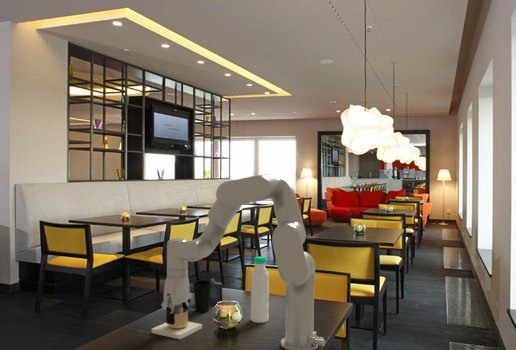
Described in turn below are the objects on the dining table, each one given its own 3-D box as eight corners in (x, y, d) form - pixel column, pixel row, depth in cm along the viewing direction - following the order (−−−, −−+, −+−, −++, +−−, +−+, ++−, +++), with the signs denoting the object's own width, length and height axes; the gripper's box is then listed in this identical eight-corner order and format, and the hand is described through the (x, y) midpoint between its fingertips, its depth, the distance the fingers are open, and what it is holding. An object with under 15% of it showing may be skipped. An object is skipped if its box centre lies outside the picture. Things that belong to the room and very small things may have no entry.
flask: (201, 302, 204) (201, 278, 204) (203, 301, 207) (204, 277, 207) (221, 304, 202) (221, 280, 202) (223, 302, 205) (223, 278, 205)
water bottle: (266, 324, 176) (267, 259, 176) (249, 322, 178) (249, 258, 178) (270, 318, 183) (270, 255, 183) (252, 317, 185) (253, 255, 184)
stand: (202, 328, 171) (202, 305, 171) (180, 339, 160) (180, 315, 160) (174, 322, 178) (174, 300, 177) (151, 332, 166) (151, 309, 166)
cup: (189, 311, 191) (189, 283, 191) (199, 307, 198) (200, 279, 198) (204, 314, 187) (204, 285, 187) (214, 309, 194) (215, 281, 194)
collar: (191, 323, 170) (191, 310, 170) (179, 329, 164) (179, 315, 164) (176, 320, 174) (176, 307, 173) (163, 326, 167) (163, 312, 167)
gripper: (184, 267, 178) (183, 312, 178) (153, 276, 163) (153, 325, 163) (199, 269, 174) (199, 315, 174) (170, 278, 159) (170, 329, 159)
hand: (177, 320), depth 169 cm, fingers closed on collar, 7 cm apart
